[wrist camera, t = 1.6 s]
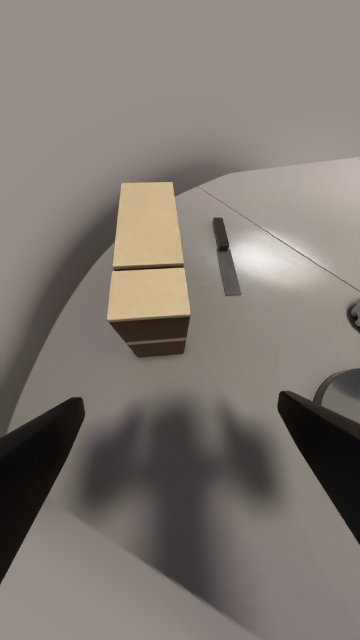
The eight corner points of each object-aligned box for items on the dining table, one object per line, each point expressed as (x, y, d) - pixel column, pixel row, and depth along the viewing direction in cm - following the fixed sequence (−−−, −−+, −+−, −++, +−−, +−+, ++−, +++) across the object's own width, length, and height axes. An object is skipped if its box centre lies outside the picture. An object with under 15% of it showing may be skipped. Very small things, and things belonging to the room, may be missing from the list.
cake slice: (183, 353, 22) (190, 314, 12) (137, 357, 22) (106, 320, 12) (180, 322, 24) (184, 267, 14) (138, 325, 24) (111, 271, 14)
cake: (180, 319, 24) (183, 262, 14) (138, 322, 24) (112, 266, 14) (173, 254, 30) (172, 182, 20) (139, 256, 29) (121, 182, 20)
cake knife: (240, 295, 26) (243, 291, 26) (225, 295, 26) (227, 291, 25) (222, 222, 34) (223, 217, 33) (210, 222, 34) (211, 217, 33)
